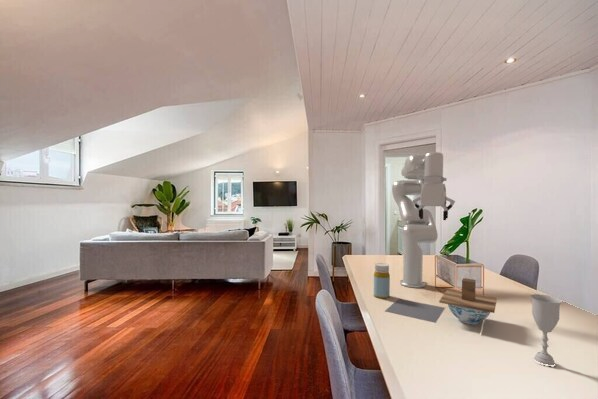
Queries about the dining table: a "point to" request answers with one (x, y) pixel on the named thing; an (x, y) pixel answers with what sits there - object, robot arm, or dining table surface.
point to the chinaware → (468, 314)
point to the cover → (469, 297)
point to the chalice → (545, 321)
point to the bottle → (381, 281)
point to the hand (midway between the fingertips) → (432, 219)
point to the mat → (416, 310)
